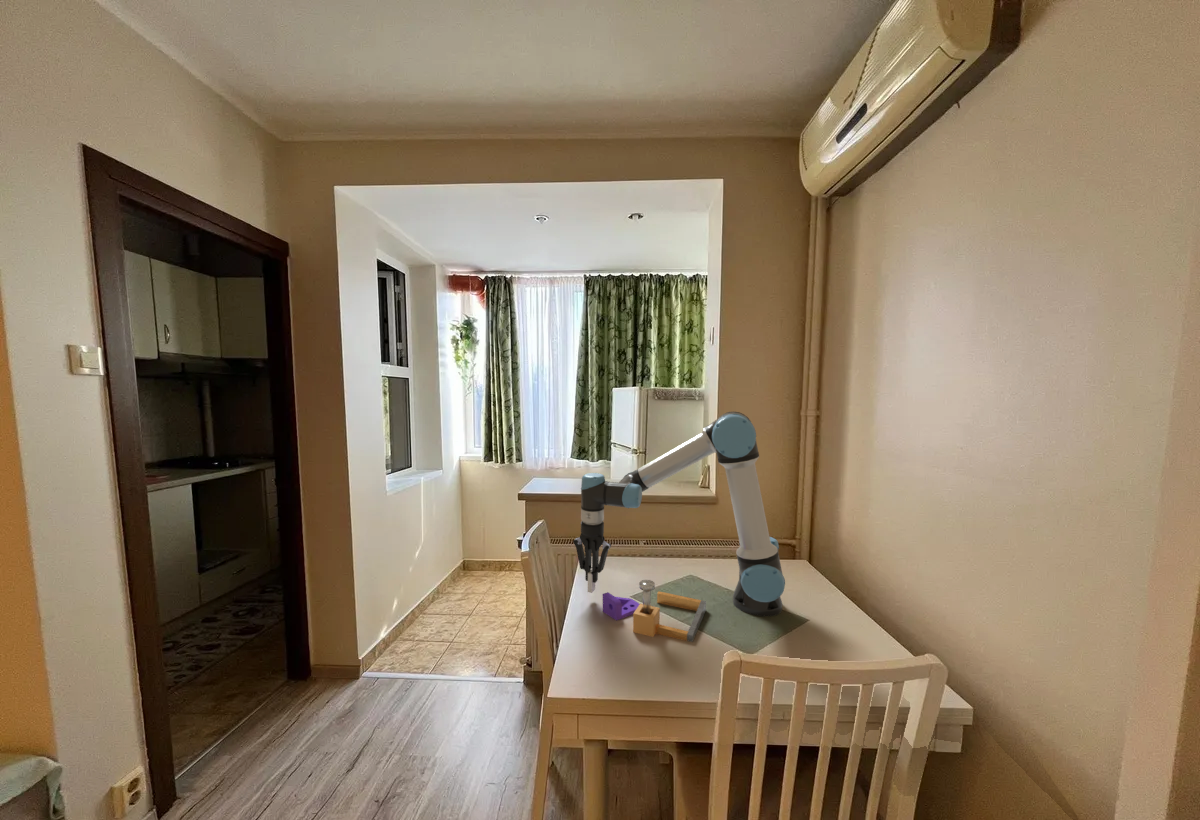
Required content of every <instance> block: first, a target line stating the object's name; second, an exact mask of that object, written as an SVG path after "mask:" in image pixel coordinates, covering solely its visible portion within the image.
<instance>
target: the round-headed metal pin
mask: <svg viewBox="0 0 1200 820" xmlns="http://www.w3.org/2000/svg"><path fill="white" fill-rule="evenodd" d="M638 586H639V587H638V588H639V589H640V590H641V591H642V604H643V613H644V614H649V615H650V614H651V606H652V604H651V603H652V602H651V600H652V599H651V598H652V597H651V595H652V592H653V590H656V589H655V586H656V584H655V581H653V580H651V579H642V580H639V585H638Z"/></svg>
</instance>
